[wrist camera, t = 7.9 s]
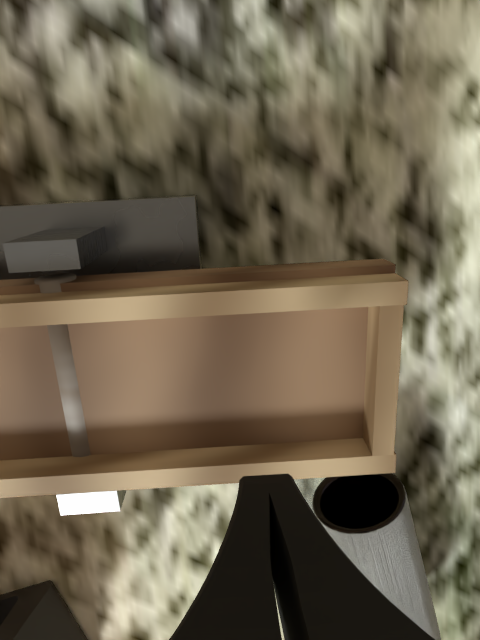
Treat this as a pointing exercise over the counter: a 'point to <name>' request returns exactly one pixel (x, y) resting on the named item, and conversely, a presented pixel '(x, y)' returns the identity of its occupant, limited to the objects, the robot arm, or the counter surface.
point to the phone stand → (37, 615)
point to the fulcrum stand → (98, 259)
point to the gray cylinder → (379, 539)
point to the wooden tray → (198, 376)
